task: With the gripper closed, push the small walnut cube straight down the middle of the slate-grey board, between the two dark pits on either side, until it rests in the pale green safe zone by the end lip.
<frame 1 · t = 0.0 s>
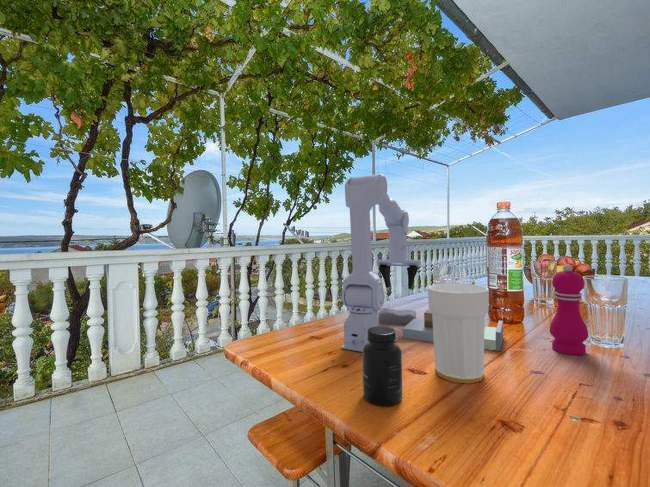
hand: (398, 287, 108), 10 cm above the table, tool pointing down, fingers open, 7 cm apart
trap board: (449, 337, 88), on the table
stone block: (397, 321, 106), on the table
walnut cube: (433, 326, 90), point 2 cm above the table, touching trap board
supplement bottle: (382, 398, 57), on the table
cup: (459, 374, 66), on the table
pepper mill: (568, 351, 76), on the table
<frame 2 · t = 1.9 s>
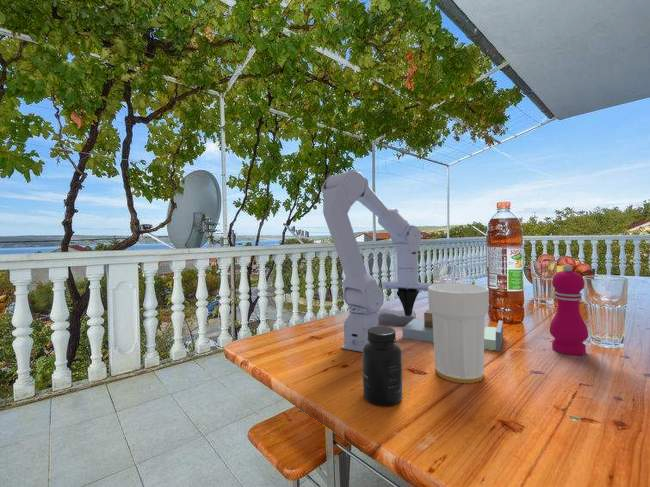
hand: (408, 315, 93), 5 cm above the table, tool pointing down, fingers closed
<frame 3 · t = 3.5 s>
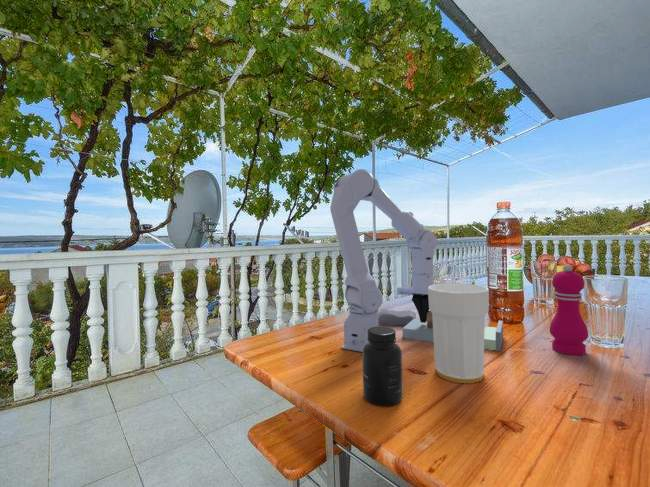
hand: (423, 321, 91), 3 cm above the table, tool pointing down, fingers closed
walnut cube: (436, 326, 89), point 3 cm above the table, touching gripper
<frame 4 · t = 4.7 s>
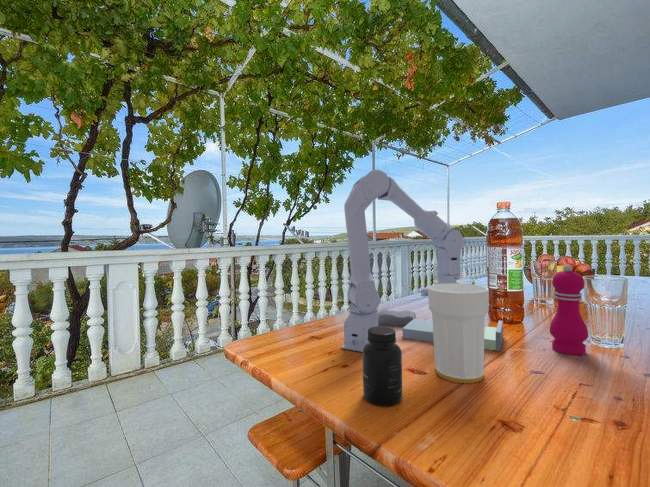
hand: (450, 324, 87), 3 cm above the table, tool pointing down, fingers closed
walnut cube: (464, 329, 86), point 2 cm above the table, touching gripper, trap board
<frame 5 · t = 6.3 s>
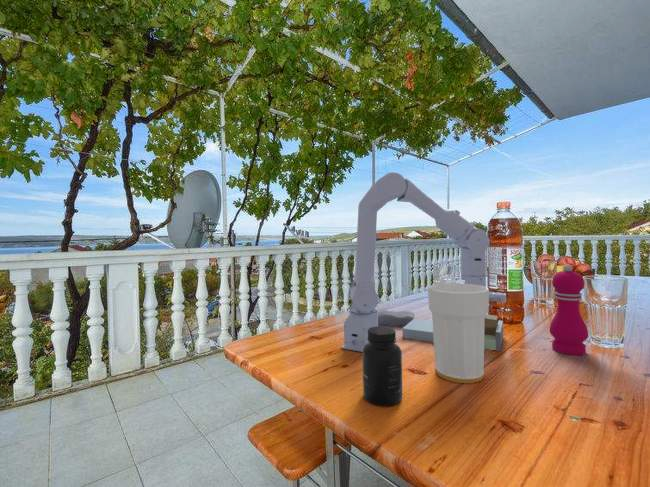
hand: (474, 327, 84), 3 cm above the table, tool pointing down, fingers closed
walnut cube: (488, 332, 83), point 3 cm above the table, touching gripper, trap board
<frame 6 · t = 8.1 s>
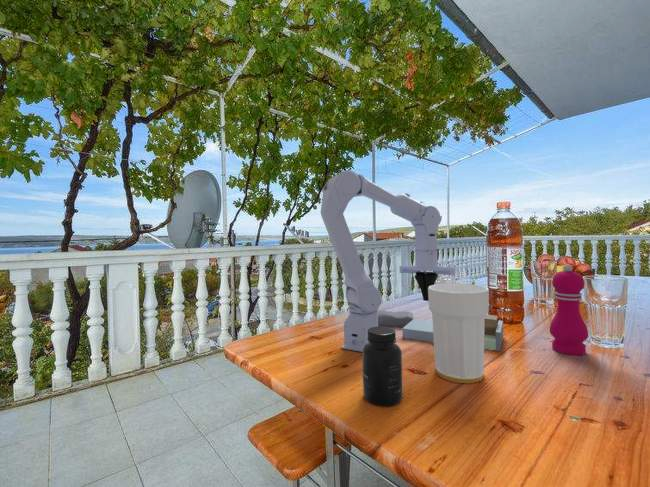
hand: (426, 300, 89), 10 cm above the table, tool pointing down, fingers closed
walnut cube: (488, 332, 83), point 2 cm above the table, touching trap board
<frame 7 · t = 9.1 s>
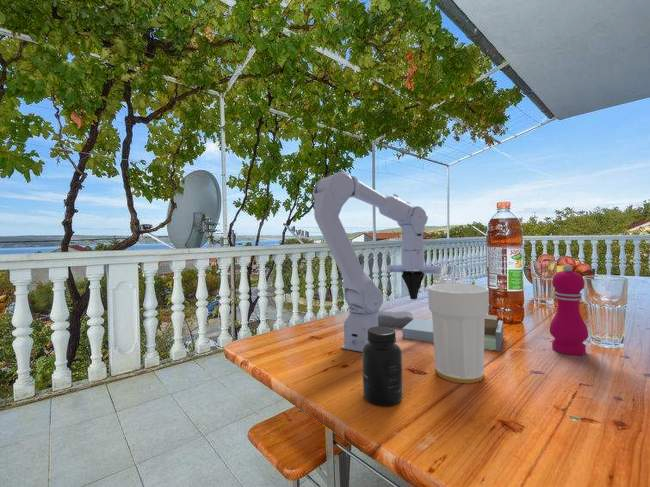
hand: (413, 298, 91), 10 cm above the table, tool pointing down, fingers closed
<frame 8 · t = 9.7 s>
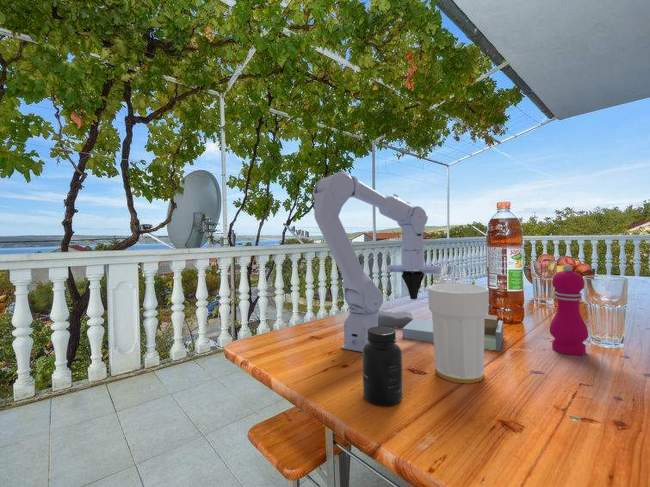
hand: (413, 298, 91), 10 cm above the table, tool pointing down, fingers closed
at the end: walnut cube 1.1 cm from the target spot on the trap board, point 2.5 cm above the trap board's base; walnut cube tilted 0° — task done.
